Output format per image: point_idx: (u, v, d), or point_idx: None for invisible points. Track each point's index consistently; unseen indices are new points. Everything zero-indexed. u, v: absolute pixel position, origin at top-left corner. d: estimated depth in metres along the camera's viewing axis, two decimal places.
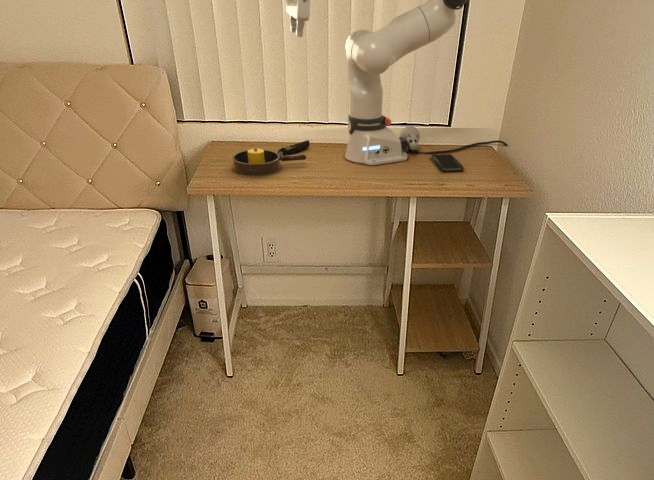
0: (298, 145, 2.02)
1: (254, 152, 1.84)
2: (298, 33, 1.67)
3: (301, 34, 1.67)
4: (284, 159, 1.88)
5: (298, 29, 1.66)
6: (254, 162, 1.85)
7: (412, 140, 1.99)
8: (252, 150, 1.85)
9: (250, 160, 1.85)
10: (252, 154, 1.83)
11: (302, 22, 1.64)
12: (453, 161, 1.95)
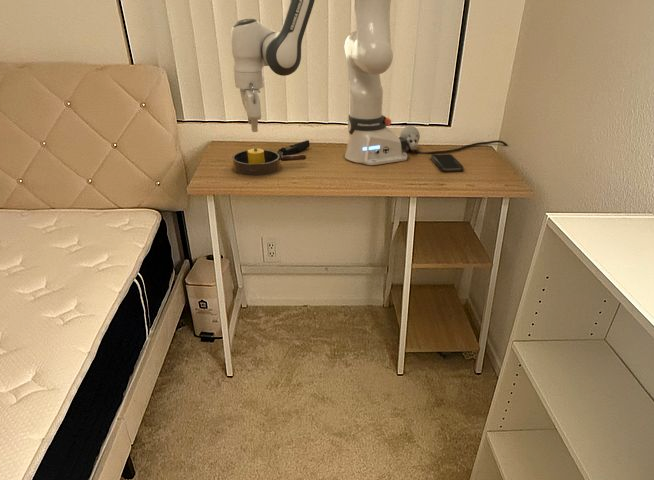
0: (298, 145, 2.02)
1: (254, 152, 1.84)
2: (253, 129, 1.75)
3: (256, 129, 1.76)
4: (284, 159, 1.88)
5: (253, 125, 1.75)
6: (254, 162, 1.85)
7: (412, 140, 1.99)
8: (252, 150, 1.85)
9: (250, 160, 1.85)
10: (252, 154, 1.83)
11: (255, 119, 1.73)
12: (453, 161, 1.95)
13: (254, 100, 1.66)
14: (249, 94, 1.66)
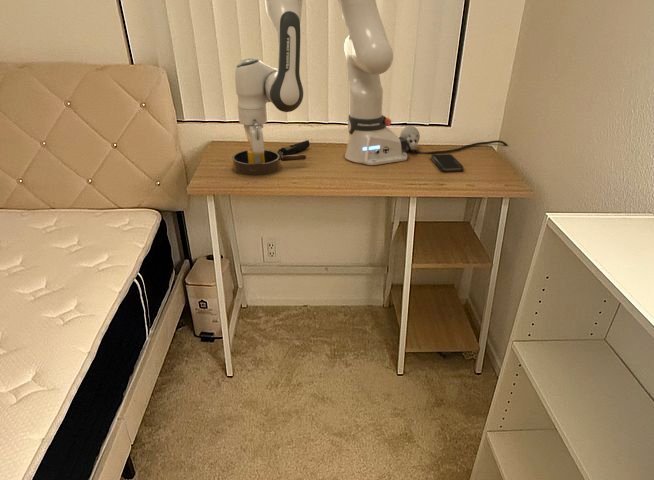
0: (298, 145, 2.02)
1: None
2: (256, 161, 1.83)
3: (259, 161, 1.83)
4: (284, 159, 1.88)
5: (256, 158, 1.82)
6: (254, 162, 1.85)
7: (412, 140, 1.99)
8: None
9: (250, 160, 1.85)
10: (252, 154, 1.83)
11: None
12: (453, 161, 1.95)
13: (257, 136, 1.73)
14: (253, 130, 1.73)
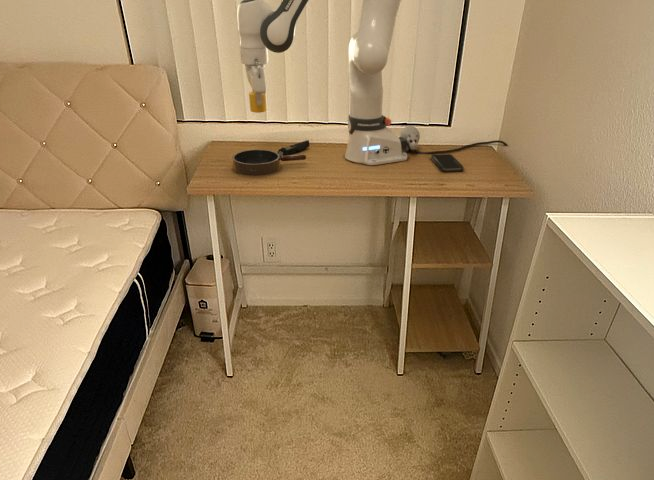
0: (298, 145, 2.02)
1: (255, 94, 1.87)
2: (258, 102, 1.86)
3: (260, 103, 1.86)
4: (284, 159, 1.88)
5: (257, 99, 1.85)
6: (255, 104, 1.88)
7: (412, 140, 1.99)
8: (253, 92, 1.88)
9: (251, 102, 1.88)
10: (253, 96, 1.86)
11: None
12: (453, 161, 1.95)
13: (259, 74, 1.76)
14: (254, 69, 1.76)
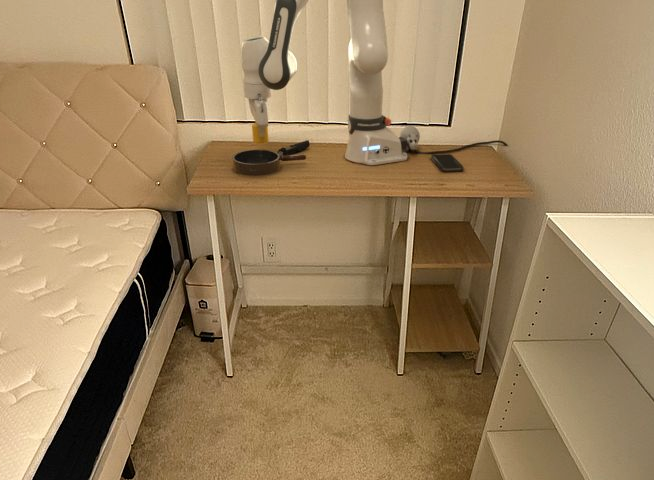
0: (298, 145, 2.02)
1: None
2: (260, 134, 1.94)
3: (263, 134, 1.94)
4: (284, 159, 1.88)
5: (260, 131, 1.93)
6: (258, 135, 1.95)
7: (412, 140, 1.99)
8: (256, 124, 1.95)
9: (254, 133, 1.95)
10: (256, 127, 1.94)
11: None
12: (453, 161, 1.95)
13: (262, 109, 1.83)
14: (257, 104, 1.83)
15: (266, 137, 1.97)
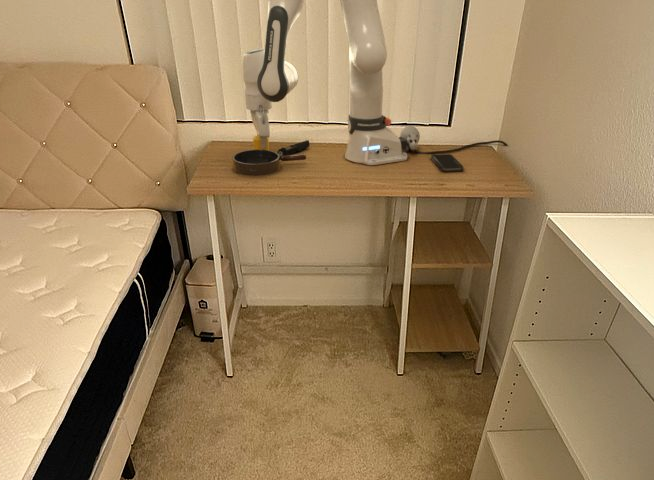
0: (298, 145, 2.02)
1: (259, 138, 1.97)
2: (262, 145, 1.95)
3: (265, 146, 1.95)
4: (284, 159, 1.88)
5: (262, 142, 1.94)
6: (259, 148, 1.98)
7: (412, 140, 1.99)
8: (257, 137, 1.98)
9: (255, 146, 1.98)
10: (257, 140, 1.96)
11: (264, 137, 1.92)
12: (453, 161, 1.95)
13: (263, 121, 1.85)
14: (259, 115, 1.86)
15: (267, 149, 1.99)
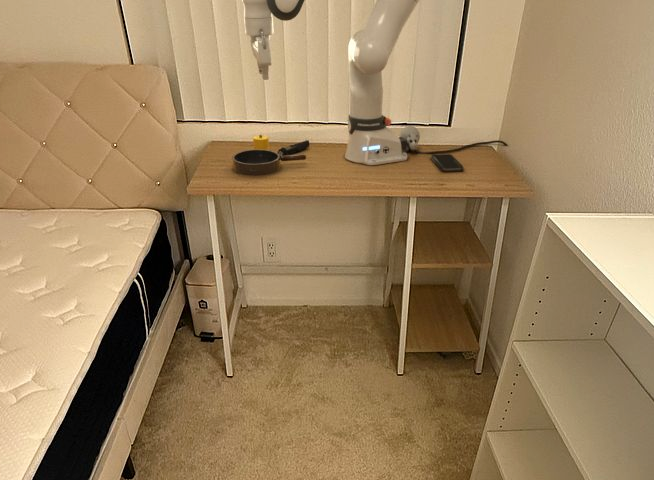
0: (298, 145, 2.02)
1: (259, 138, 1.97)
2: (264, 76, 1.78)
3: (267, 77, 1.78)
4: (284, 159, 1.88)
5: (263, 73, 1.77)
6: (259, 148, 1.98)
7: (412, 140, 1.99)
8: (257, 137, 1.98)
9: (255, 146, 1.98)
10: (257, 140, 1.96)
11: (266, 66, 1.75)
12: (453, 161, 1.95)
13: (264, 45, 1.69)
14: (259, 39, 1.69)
15: (267, 149, 1.99)
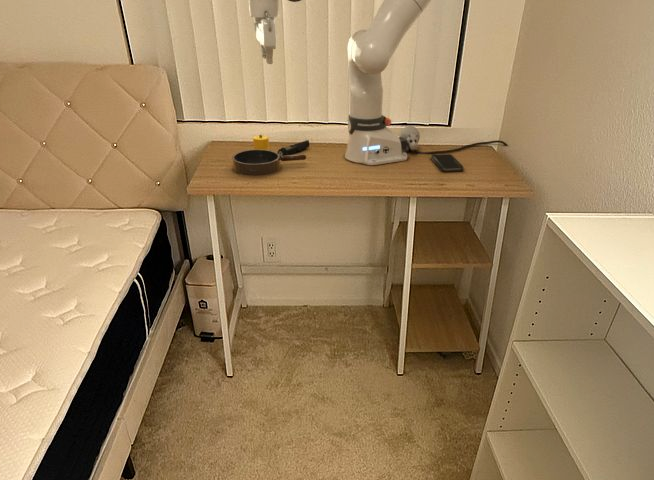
0: (298, 145, 2.02)
1: (259, 138, 1.97)
2: (268, 60, 1.72)
3: (271, 61, 1.73)
4: (284, 159, 1.88)
5: (268, 57, 1.72)
6: (259, 148, 1.98)
7: (412, 140, 1.99)
8: (257, 137, 1.98)
9: (255, 146, 1.98)
10: (257, 140, 1.96)
11: (270, 50, 1.70)
12: (453, 161, 1.95)
13: (270, 27, 1.63)
14: (264, 21, 1.63)
15: (267, 149, 1.99)
